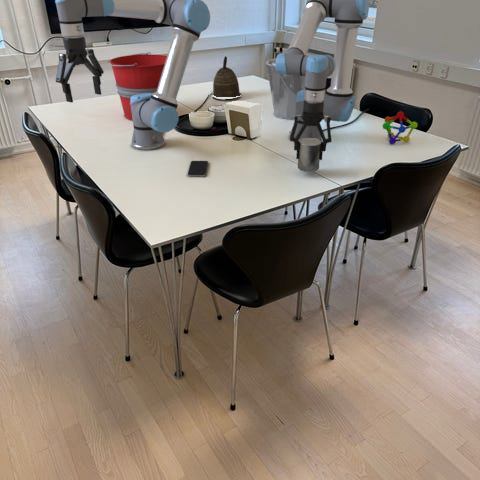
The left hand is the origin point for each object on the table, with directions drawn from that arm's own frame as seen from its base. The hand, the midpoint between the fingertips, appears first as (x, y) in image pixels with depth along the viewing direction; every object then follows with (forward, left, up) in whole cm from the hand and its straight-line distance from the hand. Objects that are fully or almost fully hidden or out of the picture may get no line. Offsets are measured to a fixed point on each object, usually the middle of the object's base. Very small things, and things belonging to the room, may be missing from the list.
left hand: (84, 97), depth 167 cm
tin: (-6, +86, -26) cm, 90 cm away
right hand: (-6, +86, -22) cm, 89 cm away
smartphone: (-5, +42, -29) cm, 51 cm away
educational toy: (-48, +128, -29) cm, 140 cm away
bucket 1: (-78, -2, -29) cm, 83 cm away
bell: (-122, +36, -29) cm, 130 cm away
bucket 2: (-89, +78, -29) cm, 121 cm away
